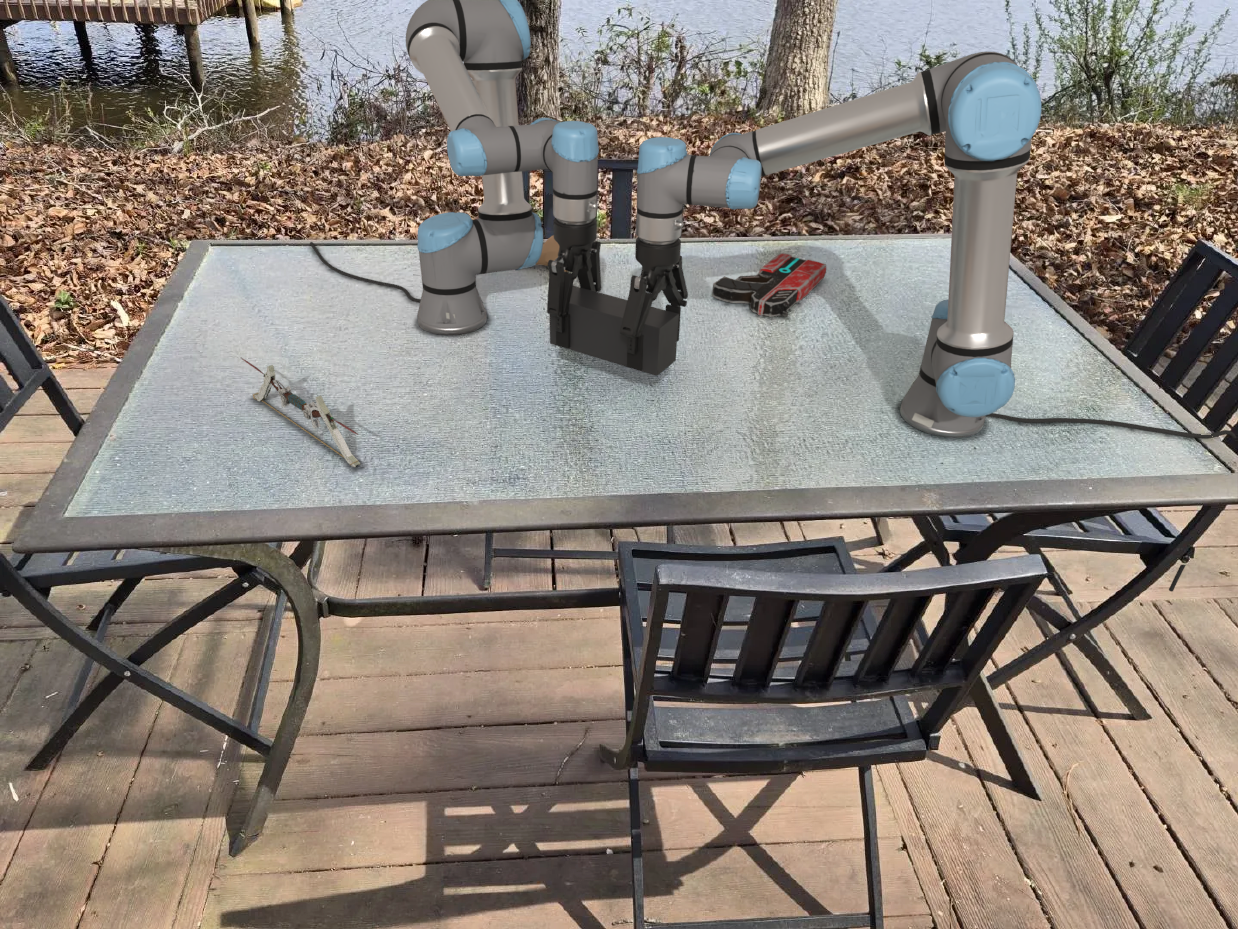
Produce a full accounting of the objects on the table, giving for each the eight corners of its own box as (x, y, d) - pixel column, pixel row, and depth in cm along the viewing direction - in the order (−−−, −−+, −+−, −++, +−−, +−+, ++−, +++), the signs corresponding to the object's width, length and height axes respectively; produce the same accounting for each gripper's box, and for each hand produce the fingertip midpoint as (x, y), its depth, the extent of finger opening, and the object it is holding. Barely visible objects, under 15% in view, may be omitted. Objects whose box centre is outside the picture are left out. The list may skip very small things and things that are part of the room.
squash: (595, 275, 222) (590, 243, 216) (517, 282, 224) (510, 251, 218) (596, 253, 230) (591, 222, 224) (521, 260, 232) (514, 229, 225)
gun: (708, 284, 207) (784, 305, 199) (760, 245, 229) (831, 262, 221) (706, 302, 209) (781, 323, 201) (758, 261, 231) (828, 278, 223)
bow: (370, 470, 147) (362, 419, 141) (361, 474, 146) (352, 423, 140) (254, 390, 168) (243, 343, 163) (245, 394, 167) (233, 346, 162)
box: (549, 343, 164) (548, 297, 158) (570, 330, 169) (570, 284, 164) (656, 376, 154) (659, 328, 149) (675, 360, 159) (679, 313, 154)
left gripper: (560, 238, 143) (561, 364, 156) (623, 206, 157) (619, 323, 170) (523, 229, 146) (527, 353, 159) (587, 199, 160) (586, 314, 173)
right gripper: (640, 264, 134) (637, 387, 146) (711, 221, 152) (703, 333, 164) (599, 255, 137) (598, 375, 149) (673, 213, 155) (668, 323, 167)
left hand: (574, 337), depth 165 cm, fingers closed on box, 7 cm apart
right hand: (653, 353), depth 157 cm, fingers open, 13 cm apart
